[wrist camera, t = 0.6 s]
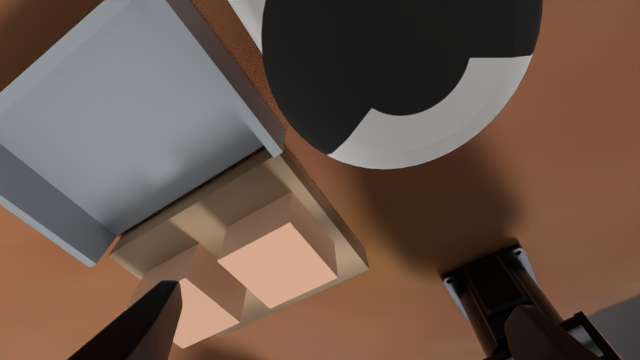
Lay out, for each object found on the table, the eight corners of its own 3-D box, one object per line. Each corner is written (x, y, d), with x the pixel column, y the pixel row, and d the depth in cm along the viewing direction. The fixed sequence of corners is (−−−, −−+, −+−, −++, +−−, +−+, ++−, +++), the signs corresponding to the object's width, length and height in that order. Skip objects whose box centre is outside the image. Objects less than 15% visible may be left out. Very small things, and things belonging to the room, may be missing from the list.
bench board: (365, 249, 25) (369, 269, 24) (223, 316, 29) (218, 337, 27) (280, 138, 20) (278, 153, 19) (122, 235, 24) (108, 255, 22)
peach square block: (247, 286, 24) (240, 322, 22) (195, 311, 26) (182, 348, 23) (199, 242, 22) (185, 277, 19) (145, 272, 23) (125, 309, 21)
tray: (286, 129, 20) (282, 152, 18) (113, 236, 24) (89, 267, 21) (167, -31, 16) (140, -33, 13) (-21, 131, 20) (-71, 154, 17)
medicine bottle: (248, -21, 16) (143, -19, 6) (381, -118, 14) (565, -355, 4) (321, 102, 19) (337, 243, 9) (438, 35, 18) (617, 115, 7)
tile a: (334, 243, 22) (337, 277, 20) (274, 272, 24) (269, 308, 21) (291, 191, 20) (289, 222, 18) (227, 226, 21) (216, 260, 19)
